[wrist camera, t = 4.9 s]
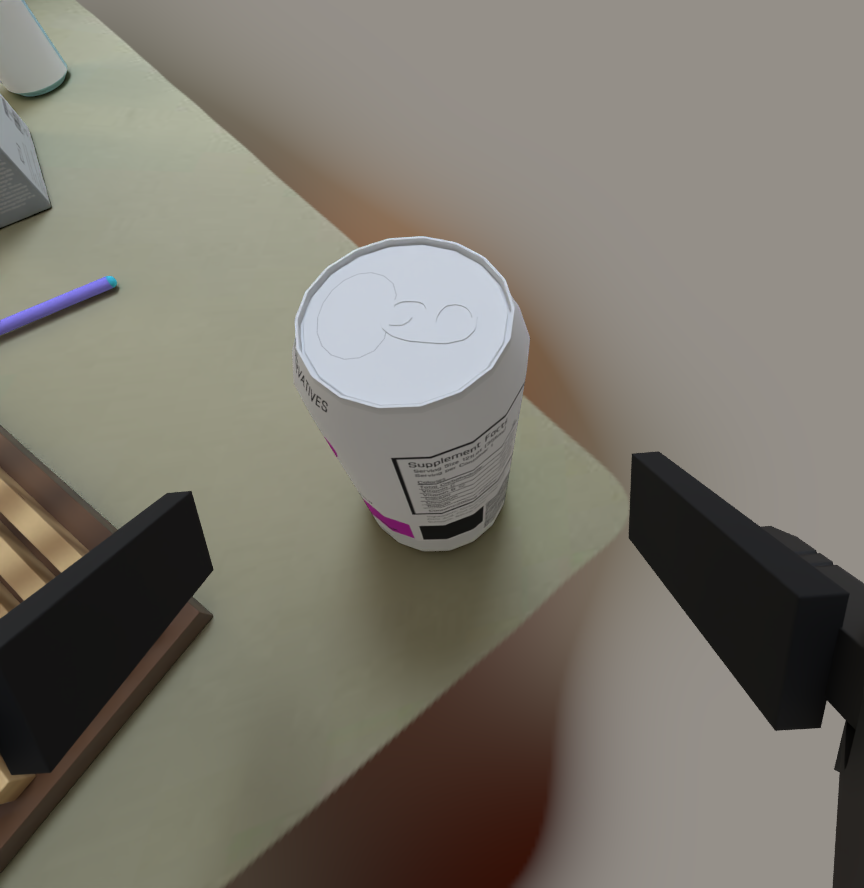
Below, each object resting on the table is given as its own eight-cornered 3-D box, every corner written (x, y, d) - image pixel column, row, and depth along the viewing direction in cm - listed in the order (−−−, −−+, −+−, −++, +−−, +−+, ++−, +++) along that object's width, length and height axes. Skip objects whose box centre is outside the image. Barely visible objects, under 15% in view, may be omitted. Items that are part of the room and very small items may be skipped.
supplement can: (355, 543, 27) (238, 411, 14) (386, 419, 31) (317, 218, 17) (496, 565, 26) (520, 445, 12) (511, 434, 29) (543, 229, 16)
